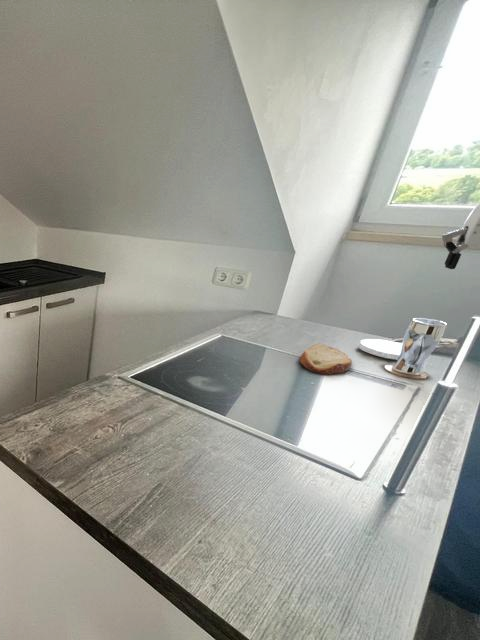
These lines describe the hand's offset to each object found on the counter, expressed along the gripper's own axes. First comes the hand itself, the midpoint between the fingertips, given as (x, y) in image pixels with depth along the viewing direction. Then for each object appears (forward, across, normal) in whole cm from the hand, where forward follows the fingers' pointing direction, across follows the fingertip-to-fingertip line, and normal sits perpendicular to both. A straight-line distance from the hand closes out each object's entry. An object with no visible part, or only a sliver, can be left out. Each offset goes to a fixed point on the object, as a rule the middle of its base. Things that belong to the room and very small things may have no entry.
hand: (475, 269), depth 100 cm
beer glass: (+29, +6, +3) cm, 30 cm away
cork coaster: (+29, +6, +3) cm, 30 cm away
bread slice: (+29, +26, +4) cm, 39 cm away
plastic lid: (+30, +6, -11) cm, 32 cm away
